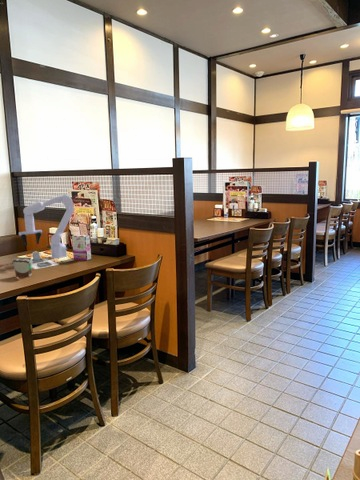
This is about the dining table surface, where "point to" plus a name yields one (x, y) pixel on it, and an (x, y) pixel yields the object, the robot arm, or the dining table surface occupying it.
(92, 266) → the dining table surface
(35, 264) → the panel
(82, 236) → the candy bar box
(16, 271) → the food container
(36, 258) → the plug
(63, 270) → the dining table surface
